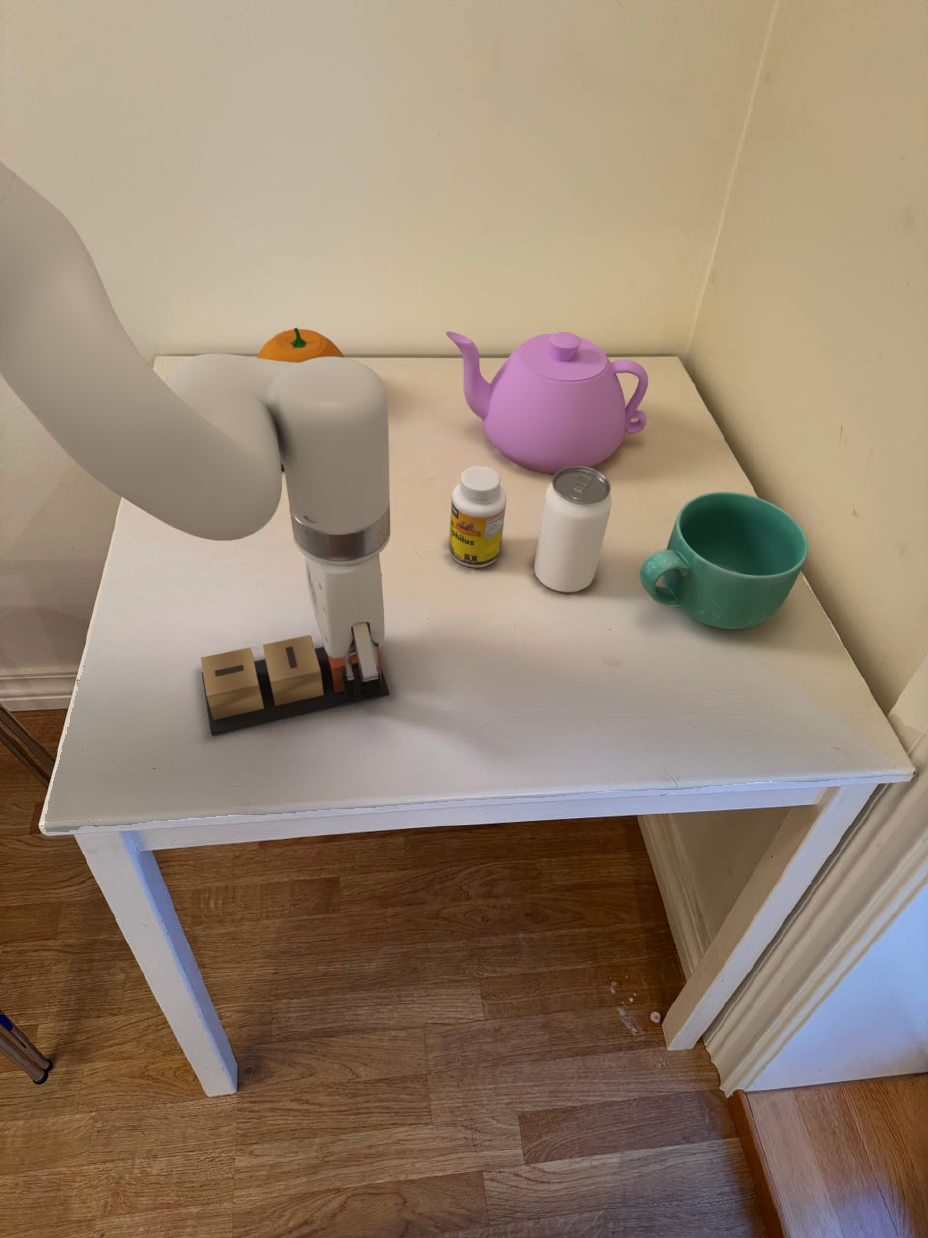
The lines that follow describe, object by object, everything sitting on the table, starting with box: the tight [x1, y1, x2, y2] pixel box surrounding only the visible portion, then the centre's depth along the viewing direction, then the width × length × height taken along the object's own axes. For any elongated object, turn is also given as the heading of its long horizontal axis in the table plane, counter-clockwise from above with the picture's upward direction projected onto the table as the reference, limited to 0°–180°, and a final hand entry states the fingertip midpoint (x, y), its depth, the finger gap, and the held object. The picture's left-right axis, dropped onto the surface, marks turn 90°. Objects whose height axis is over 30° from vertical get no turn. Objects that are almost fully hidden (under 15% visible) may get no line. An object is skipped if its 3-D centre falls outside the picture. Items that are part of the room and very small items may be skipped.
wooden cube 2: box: [262, 634, 324, 706], centre depth 75 cm, size 4×4×4 cm
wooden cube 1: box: [200, 647, 264, 720], centre depth 73 cm, size 4×4×4 cm
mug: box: [639, 491, 809, 630], centre depth 83 cm, size 17×13×10 cm
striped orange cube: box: [322, 636, 382, 692], centre depth 76 cm, size 4×4×4 cm
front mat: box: [201, 646, 390, 736], centre depth 76 cm, size 16×7×1 cm, turn 108°
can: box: [533, 466, 613, 594], centre depth 84 cm, size 6×6×12 cm
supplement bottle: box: [448, 465, 507, 569], centre depth 86 cm, size 6×6×10 cm
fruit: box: [256, 327, 346, 363], centre depth 103 cm, size 12×12×10 cm
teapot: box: [445, 331, 649, 475], centre depth 99 cm, size 25×18×14 cm
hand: (352, 662), depth 77 cm, fingers open, 7 cm apart
